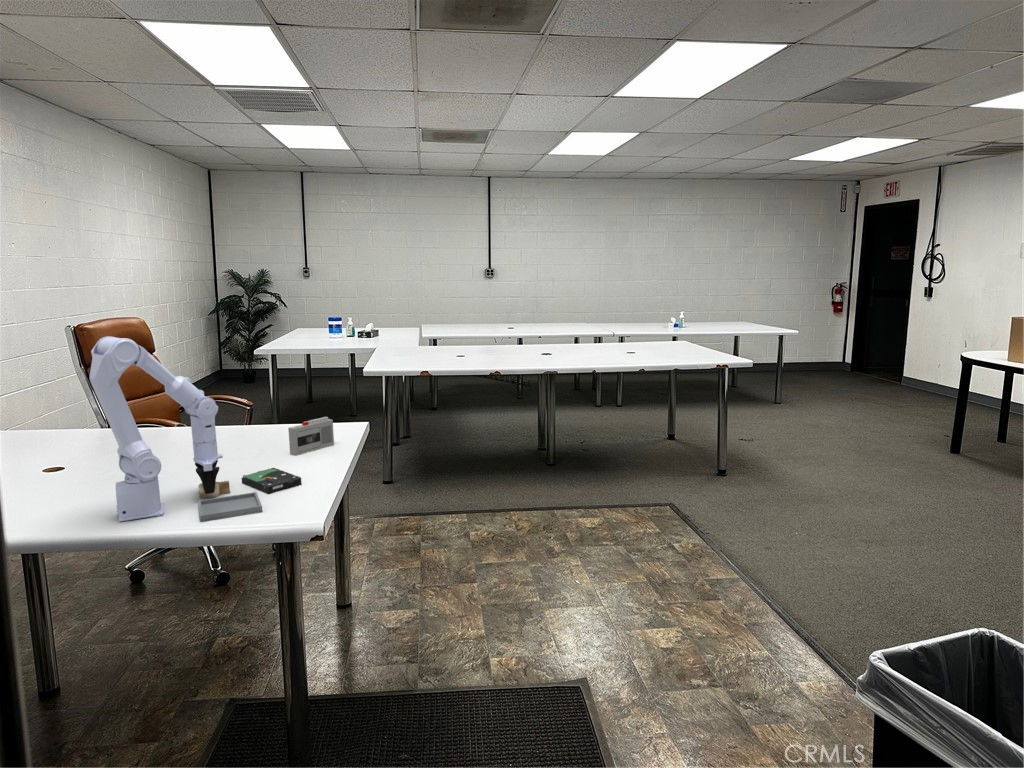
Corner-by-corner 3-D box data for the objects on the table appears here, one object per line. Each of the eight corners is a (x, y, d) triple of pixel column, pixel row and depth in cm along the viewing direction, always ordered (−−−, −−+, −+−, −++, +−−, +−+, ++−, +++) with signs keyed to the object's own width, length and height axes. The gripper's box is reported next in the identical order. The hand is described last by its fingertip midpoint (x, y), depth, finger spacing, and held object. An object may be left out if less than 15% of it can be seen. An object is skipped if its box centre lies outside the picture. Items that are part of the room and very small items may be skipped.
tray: (200, 521, 161) (200, 516, 160) (198, 506, 171) (198, 500, 171) (262, 511, 167) (262, 506, 166) (256, 497, 177) (256, 491, 177)
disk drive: (302, 486, 188) (274, 475, 197) (302, 477, 187) (273, 466, 196) (268, 496, 180) (240, 484, 189) (268, 486, 179) (240, 475, 189)
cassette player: (295, 456, 216) (293, 425, 214) (290, 454, 218) (288, 424, 216) (334, 445, 229) (332, 416, 227) (329, 444, 230) (327, 415, 228)
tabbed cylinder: (199, 499, 176) (198, 488, 176) (199, 493, 181) (198, 483, 180) (230, 494, 179) (229, 484, 179) (229, 489, 184) (228, 478, 183)
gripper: (223, 445, 172) (227, 495, 175) (219, 432, 185) (223, 480, 187) (192, 448, 169) (197, 500, 171) (191, 436, 182) (195, 484, 184)
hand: (209, 490), depth 179 cm, fingers closed on tabbed cylinder, 5 cm apart
